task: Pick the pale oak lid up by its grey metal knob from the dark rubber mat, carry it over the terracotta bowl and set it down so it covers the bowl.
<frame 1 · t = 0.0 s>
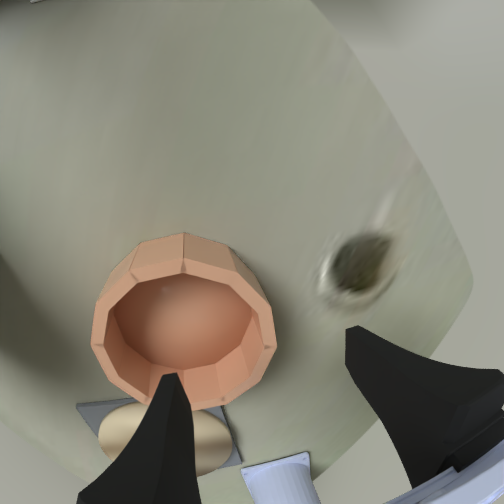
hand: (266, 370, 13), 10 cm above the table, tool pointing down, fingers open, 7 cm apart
terracotta bowl: (182, 310, 22), on the table
oak lid: (164, 443, 26), resting on rubber mat
rubber mat: (164, 439, 27), on the table
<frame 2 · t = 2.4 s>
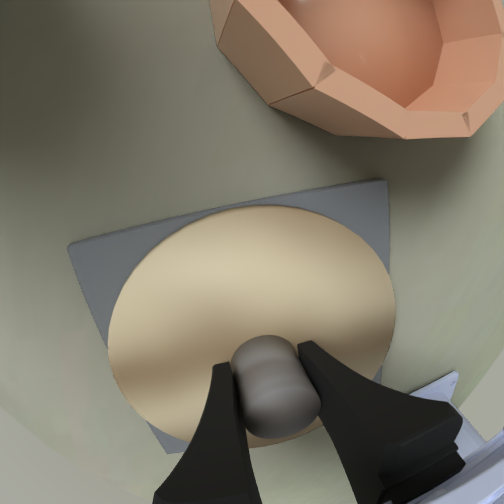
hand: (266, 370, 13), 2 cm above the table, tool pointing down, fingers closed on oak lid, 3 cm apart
terracotta bowl: (345, 10, 10), on the table
oak lid: (259, 350, 14), resting on rubber mat, touching gripper
rubber mat: (257, 344, 14), on the table
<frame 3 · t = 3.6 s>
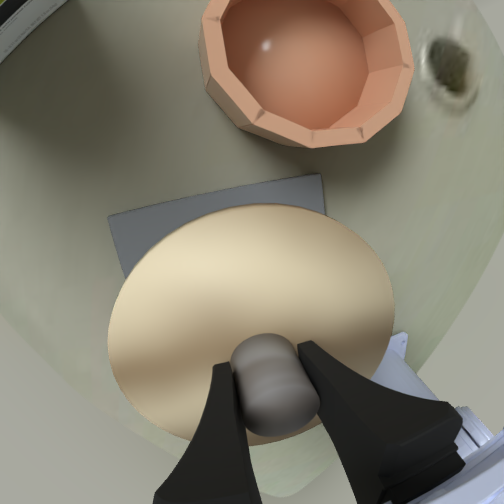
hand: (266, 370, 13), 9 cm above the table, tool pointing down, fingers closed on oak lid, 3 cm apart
terracotta bowl: (293, 57, 17), on the table
oak lid: (258, 348, 14), point 7 cm above the table, touching gripper
rubber mat: (233, 289, 21), on the table
when the fingers open (7 cm above the table, at t = 5.1 s): oak lid stays where it is, resting on terracotta bowl.
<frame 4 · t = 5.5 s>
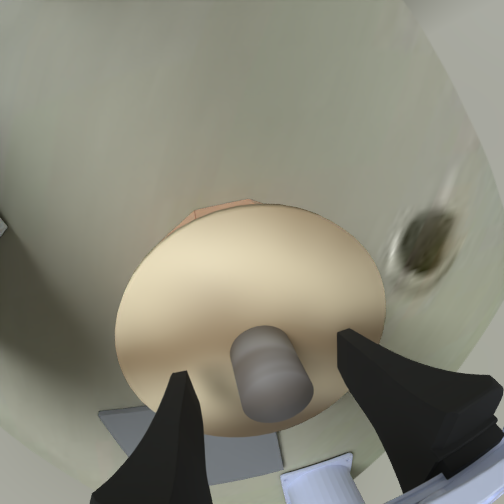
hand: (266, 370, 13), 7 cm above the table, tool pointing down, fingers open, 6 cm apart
terracotta bowl: (239, 294, 19), on the table
oak lid: (256, 341, 15), point 4 cm above the table, touching terracotta bowl
rubber mat: (201, 448, 23), on the table
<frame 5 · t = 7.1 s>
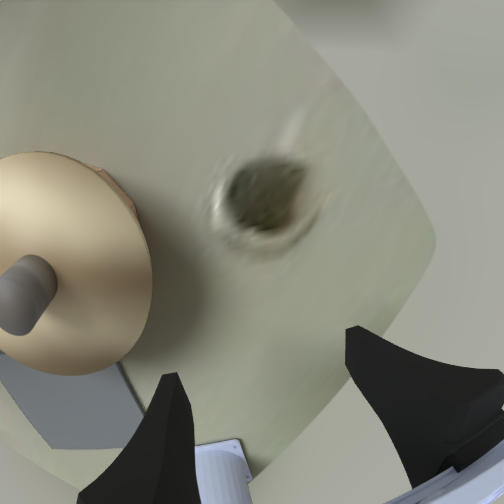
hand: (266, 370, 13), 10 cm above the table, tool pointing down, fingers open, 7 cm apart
terracotta bowl: (64, 244, 19), on the table
oak lid: (40, 273, 15), point 4 cm above the table, touching terracotta bowl
rubber mat: (72, 403, 23), on the table
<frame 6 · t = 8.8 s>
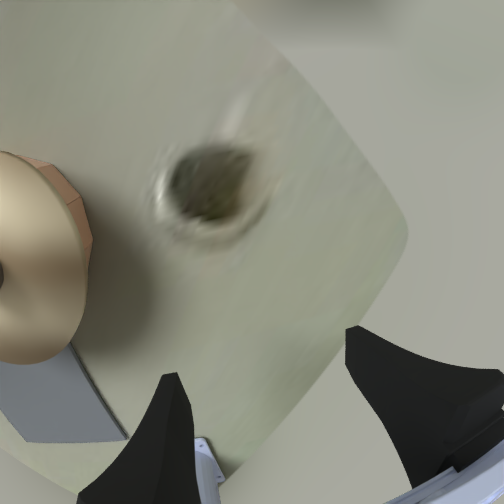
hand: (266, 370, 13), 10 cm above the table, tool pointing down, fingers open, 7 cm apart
terracotta bowl: (21, 238, 18), on the table
rubber mat: (39, 396, 22), on the table
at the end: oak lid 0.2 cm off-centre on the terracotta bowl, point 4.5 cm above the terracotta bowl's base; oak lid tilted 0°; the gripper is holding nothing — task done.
